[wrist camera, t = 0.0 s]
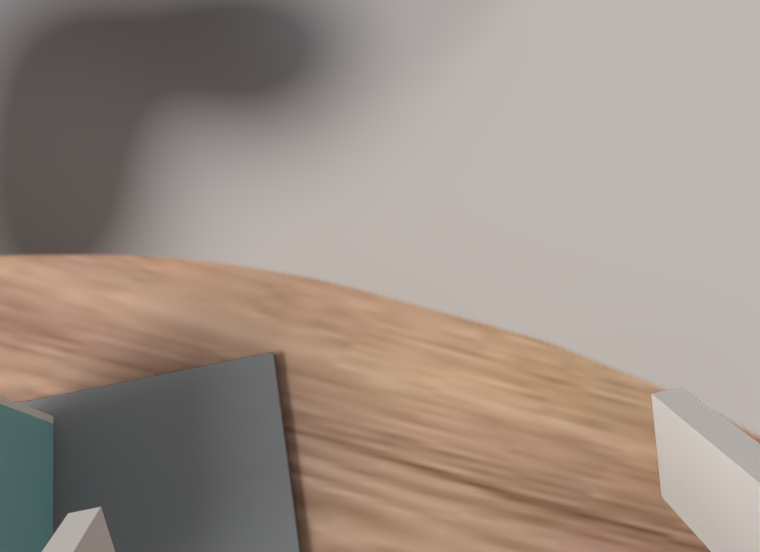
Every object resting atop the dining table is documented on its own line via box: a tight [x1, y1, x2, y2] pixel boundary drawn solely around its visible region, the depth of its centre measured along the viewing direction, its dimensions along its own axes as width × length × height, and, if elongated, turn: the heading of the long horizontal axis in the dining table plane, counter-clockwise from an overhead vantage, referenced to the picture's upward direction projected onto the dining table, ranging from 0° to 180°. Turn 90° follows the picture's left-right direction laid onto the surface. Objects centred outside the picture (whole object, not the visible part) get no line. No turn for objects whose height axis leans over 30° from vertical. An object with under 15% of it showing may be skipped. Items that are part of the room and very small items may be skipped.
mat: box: [21, 352, 301, 552], centre depth 30 cm, size 12×14×1 cm
